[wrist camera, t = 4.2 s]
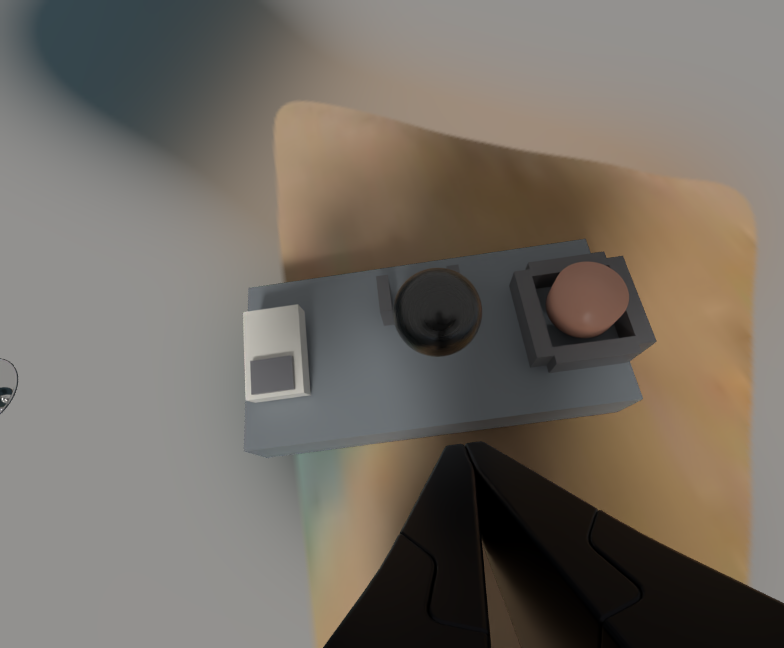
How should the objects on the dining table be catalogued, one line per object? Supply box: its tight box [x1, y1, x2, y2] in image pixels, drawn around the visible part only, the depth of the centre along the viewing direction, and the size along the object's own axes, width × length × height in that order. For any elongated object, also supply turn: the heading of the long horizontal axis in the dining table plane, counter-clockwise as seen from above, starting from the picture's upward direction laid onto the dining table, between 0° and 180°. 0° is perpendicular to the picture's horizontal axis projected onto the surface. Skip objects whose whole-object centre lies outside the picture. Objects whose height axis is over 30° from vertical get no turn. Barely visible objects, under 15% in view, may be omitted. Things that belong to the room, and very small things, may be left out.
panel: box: [244, 239, 657, 458], centre depth 22 cm, size 9×20×5 cm, turn 97°
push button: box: [546, 262, 629, 338], centre depth 20 cm, size 3×3×2 cm
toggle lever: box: [393, 268, 482, 357], centre depth 16 cm, size 2×2×12 cm
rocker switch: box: [243, 304, 311, 403], centre depth 21 cm, size 4×3×2 cm, turn 7°
